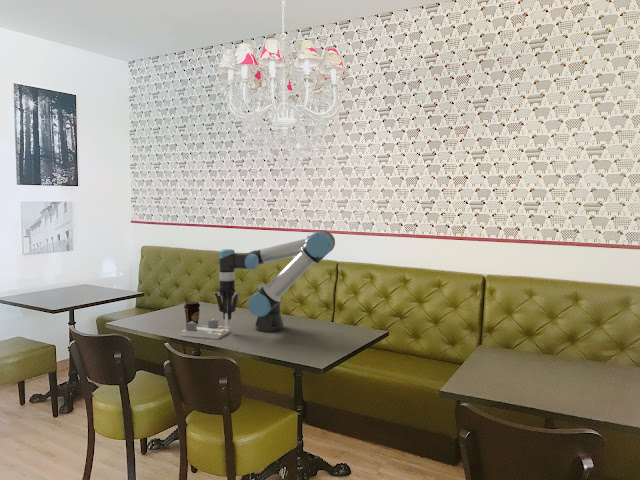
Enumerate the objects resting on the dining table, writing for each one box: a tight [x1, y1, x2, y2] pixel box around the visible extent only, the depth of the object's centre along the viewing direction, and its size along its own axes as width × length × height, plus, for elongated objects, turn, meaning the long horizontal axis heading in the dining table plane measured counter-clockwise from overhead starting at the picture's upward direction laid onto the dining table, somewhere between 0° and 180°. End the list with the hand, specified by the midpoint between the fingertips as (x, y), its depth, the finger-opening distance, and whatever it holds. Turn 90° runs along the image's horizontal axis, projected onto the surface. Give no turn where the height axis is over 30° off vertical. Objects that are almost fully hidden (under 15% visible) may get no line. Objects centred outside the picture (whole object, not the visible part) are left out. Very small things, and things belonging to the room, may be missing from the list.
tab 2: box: [207, 318, 219, 329], centre depth 256 cm, size 4×3×5 cm
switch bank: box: [180, 323, 231, 340], centre depth 253 cm, size 20×14×3 cm
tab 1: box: [185, 321, 197, 332], centre depth 250 cm, size 4×3×5 cm
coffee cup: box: [183, 300, 201, 324], centre depth 266 cm, size 9×8×13 cm
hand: (227, 325), depth 254 cm, fingers closed
